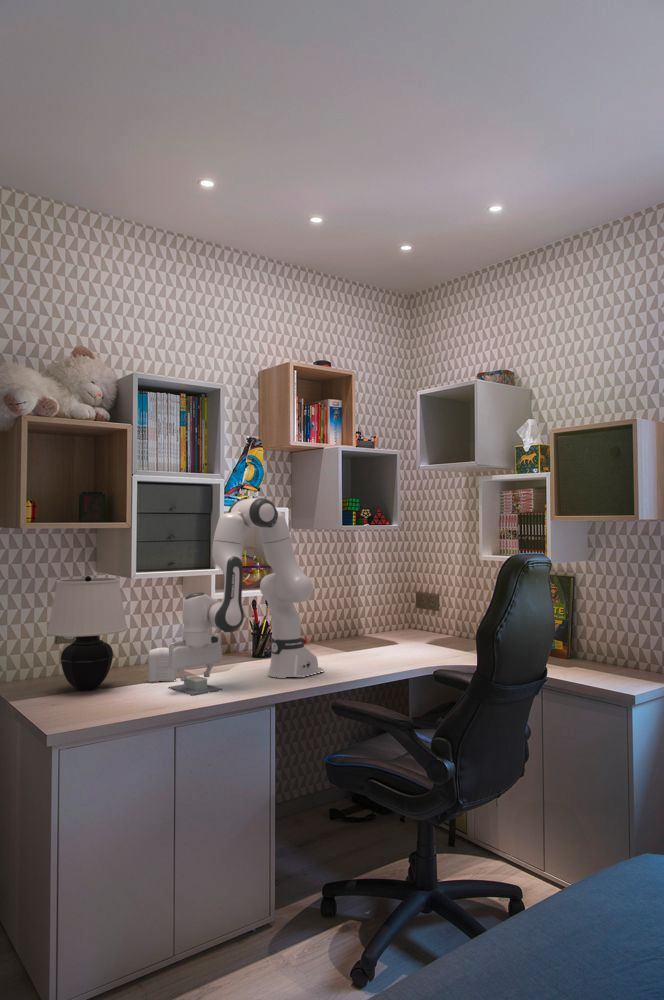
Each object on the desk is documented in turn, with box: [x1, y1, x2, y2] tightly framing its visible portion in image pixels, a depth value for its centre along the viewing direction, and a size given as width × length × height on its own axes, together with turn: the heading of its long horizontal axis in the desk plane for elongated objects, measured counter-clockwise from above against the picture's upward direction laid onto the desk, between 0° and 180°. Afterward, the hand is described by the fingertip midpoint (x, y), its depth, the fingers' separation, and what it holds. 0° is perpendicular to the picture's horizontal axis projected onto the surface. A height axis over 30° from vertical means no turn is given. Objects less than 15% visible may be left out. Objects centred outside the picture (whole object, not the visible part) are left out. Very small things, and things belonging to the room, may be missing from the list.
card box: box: [183, 674, 208, 691], centre depth 248 cm, size 8×4×4 cm, turn 43°
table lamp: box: [46, 575, 128, 692], centre depth 249 cm, size 27×27×40 cm
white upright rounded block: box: [147, 647, 177, 683], centre depth 262 cm, size 10×4×12 cm, turn 104°
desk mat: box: [167, 683, 223, 696], centre depth 248 cm, size 12×16×1 cm
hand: (195, 678), depth 248 cm, fingers open, 8 cm apart
